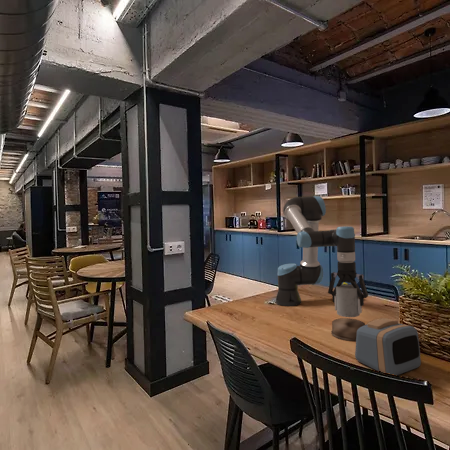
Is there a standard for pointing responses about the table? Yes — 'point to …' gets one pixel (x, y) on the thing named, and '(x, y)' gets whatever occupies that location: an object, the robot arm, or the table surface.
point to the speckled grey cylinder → (347, 300)
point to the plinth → (346, 328)
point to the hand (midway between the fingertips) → (348, 311)
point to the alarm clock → (388, 346)
